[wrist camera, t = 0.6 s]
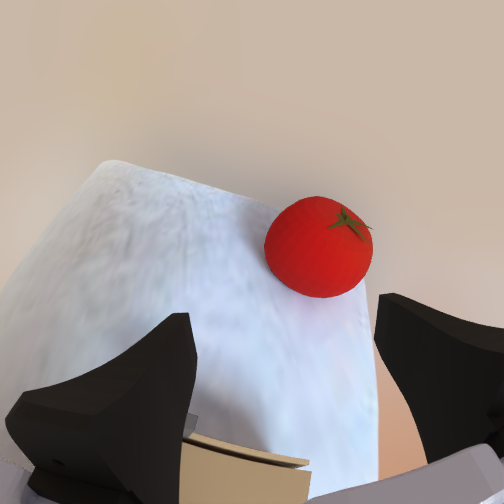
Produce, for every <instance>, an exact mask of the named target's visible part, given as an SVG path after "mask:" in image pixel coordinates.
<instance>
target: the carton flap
mask: <svg viewBox="0 0 504 504" xmlns="http://www.w3.org/2000/svg"><path fill="white" fill-rule="evenodd" d="M197 419H198V416H196V415H193V414H190V413H187V417H186V421H185V426H184V432H183V440H182V442H184V443H187V444H190V445H193V446H196V447H200V448H203V449H206V450H210V451H213V452H217V453H220V454H224V455H228V456H232V457H236V458H240V459H244V460H249V461H253V462H258V463H263V464H268V465H273V466H279V467H284V468H290V469H295V468H299V467H303V466H306V465H309V460H306V459H300V458H294V457H288V456H283V455H277V454H272V453H268V452H263V451H258V450H254V449H250V448H246V447H241V446H238V445H234V444H230V443H226V442H223V441H219V440H216V439H212V438H209V437H206V436H202V435H199V434H196V433H193V431H194V429H195V425H196V422H197Z"/></svg>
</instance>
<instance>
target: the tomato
mask: <svg viewBox="0 0 504 504" xmlns="http://www.w3.org/2000/svg"><path fill="white" fill-rule="evenodd" d="M367 227H368V226H366V225H365V223H364V222H363V221H362V220H361V219H360V218H359V217H358V216H357V215H356V214H354V213H353V212H352V211H351V210H349V209H348V208H347V207H345V206H344V205H342V204H340V203H338V202H336V201H334V200H332V199H328V198H325V197H319V196H315V197H308V198H304V199H301V200H299V201H297V202H296V203H294V204H292V205H291V206H289V207H287V208H286V209H285V210H284V211H283V212H281V213H280V214H279V215H278V217H277V218H276V219H275V220H274V222H273V223H272V225H271V227H270V228H269V230H268V232H267V236H266V240H265V244H264V250H265V256H266V260H267V262H268V265H269V267H270V269H271V271H272V272H273V273H274V274H275V276H276V277H277V278H279V279H280V280H281V281H282V282H283V283H284V284H285V285H287V286H288V287H289V288H291V289H292V290H294V291H296V292H298V293H301V294H303V295H306V296H310V297H317V298H328V297H334V296H338V295H341V294H343V293H346V292H348V291H349V290H351V289H352V288H354V287H355V286H356V285H357V284H358V283H359V282H360V281H361V280H362V279H363V277H364V276H365V275H366V272H367V270H368V268H369V266H370V263H371V259H372V254H373V245H372V238H371V234H370V232H369V230H368V228H369V227H368V228H367ZM370 229H372V228H370Z"/></svg>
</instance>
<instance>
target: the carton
mask: <svg viewBox="0 0 504 504" xmlns="http://www.w3.org/2000/svg"><path fill="white" fill-rule="evenodd" d="M311 472H312V471H304V470H297V469H290V468H284V467H279V466H273V465H268V464H263V463H258V462H253V461H249V460H244V459H240V458H236V457H232V456H228V455H224V454H220V453H217V452H213V451H210V450H206V449H203V448H200V447H196V446H193V445H190V444H187V443H184V442H182V451H181V464H180V486H179V504H301V503H303V502H306V501H307V499H308V493H309V486H310V479H311Z"/></svg>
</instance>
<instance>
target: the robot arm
mask: <svg viewBox="0 0 504 504" xmlns="http://www.w3.org/2000/svg"><path fill="white" fill-rule="evenodd" d="M374 341H375V344H376V346H377V349H378V351H379V353H380V356H381V358H382V360H383V362H384V364H385V365H386V367H387V369H388V371H389V372H390V374H391V376H392V377H393V379H394V381H395V382H396V384H397V386H398V387H399V389H400V391H401V392H402V394H403V396H404V398H405V400H406V402H407V404H408V406H409V408H410V410H411V413H412V416H413V418H414V421H415V423H416V426H417V429H418V432H419V435H420V438H421V441H422V444H423V447H424V451H425V455H426V459H427V463H428V465H425V466H423V467H420V468H417V469H414V470H411V471H409V472H406V473H402V474H399V475H396V476H393V477H390V478H386V479H383V480H379V481H376V482H372V483H368V484H364V485H360V486H356V487H352V488H347V489H343V490H340V491H336V492H333V493H329V494H326V495H322V496H318V497H314V498H312V499H310V500H308V501H306V502H303V503H301V504H504V329H503V328H496V327H491V326H486V325H481V324H477V323H473V322H470V321H466V320H462V319H459V318H456V317H454V316H451V315H448V314H445V313H443V312H440V311H438V310H435V309H433V308H431V307H428V306H426V305H424V304H421V303H419V302H416V301H414V300H412V299H410V298H407V297H405V296H402V295H399V294H396V293H389V294H381V295H379V303H378V310H377V320H376V327H375V334H374ZM197 358H198V357H197V352H196V347H195V342H194V338H193V333H192V328H191V323H190V317H189V313H172V314H171V315H170V316H168V317H167V318H166V319H165V320H163V321H162V322H161V323H160V324H159V325H158V326H156V327H155V328H154V329H153V330H152V331H150V332H149V333H148V334H147V335H146V336H145V337H143V338H142V339H141V340H139V341H138V342H137V343H135V344H134V345H133V346H131V347H130V348H129V349H127V350H126V351H125V352H123V353H122V354H120V355H119V356H117V357H116V358H114V359H112V360H111V361H109V362H107V363H105V364H104V365H102V366H100V367H98V368H96V369H94V370H91V371H89V372H87V373H85V374H83V375H81V376H78V377H76V378H73V379H71V380H68V381H65V382H62V383H59V384H56V385H52V386H49V387H44V388H40V389H36V390H31V391H26V392H23V393H22V395H21V396H20V398H19V399H18V401H17V402H16V403H15V405H14V406H13V408H12V409H11V411H10V412H9V414H8V415H7V417H6V418H5V423H6V427H7V430H8V432H9V434H10V436H11V437H12V439H13V440H14V442H15V443H16V444H17V446H18V447H19V448H20V449H21V450H22V452H23V453H24V454H25V455H26V457H27V458H28V459H29V460H30V461H31V462H32V464H33V465H34V466H35V469H34V471H33V473H32V474H31V473H30V472H29V471H27V470H26V469H24V468H22V467H20V466H18V465H16V464H13V463H11V462H9V461H7V460H5V459H2V458H0V504H179V486H180V464H181V451H182V440H183V432H184V426H185V421H186V417H187V413H188V409H189V405H190V400H191V396H192V392H193V388H194V383H195V379H196V370H197Z"/></svg>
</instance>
